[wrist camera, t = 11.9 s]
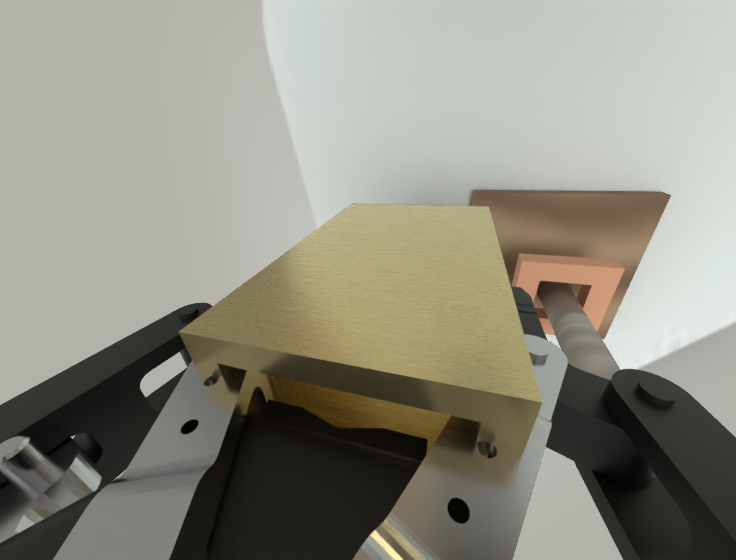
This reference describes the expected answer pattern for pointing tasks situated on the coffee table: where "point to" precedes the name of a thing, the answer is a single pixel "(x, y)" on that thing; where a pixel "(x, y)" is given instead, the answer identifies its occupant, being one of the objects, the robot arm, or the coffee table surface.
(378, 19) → the coffee table surface
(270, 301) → the sleeve
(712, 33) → the coffee table surface
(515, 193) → the post stand
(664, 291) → the coffee table surface
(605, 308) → the orange square ring
